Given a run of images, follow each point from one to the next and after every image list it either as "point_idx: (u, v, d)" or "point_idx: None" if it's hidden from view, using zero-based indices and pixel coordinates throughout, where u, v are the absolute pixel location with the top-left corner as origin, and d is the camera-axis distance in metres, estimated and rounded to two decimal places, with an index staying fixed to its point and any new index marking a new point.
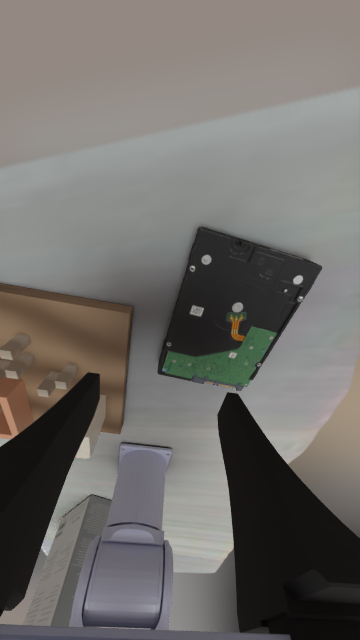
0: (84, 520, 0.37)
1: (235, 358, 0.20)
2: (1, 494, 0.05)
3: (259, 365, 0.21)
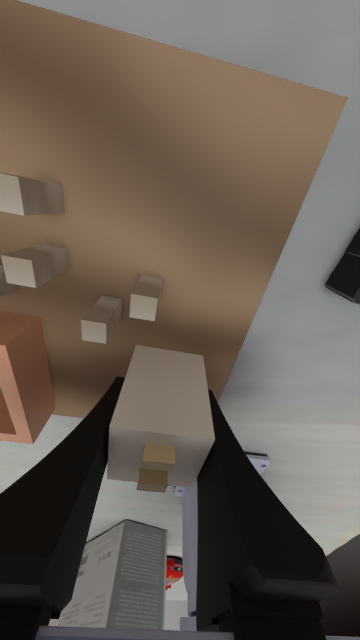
0: (120, 560, 0.25)
1: None
2: (63, 500, 0.05)
3: None
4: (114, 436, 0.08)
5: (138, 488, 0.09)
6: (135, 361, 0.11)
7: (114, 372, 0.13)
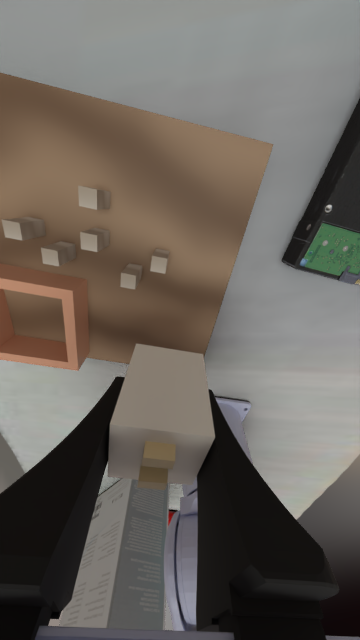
0: (131, 496, 0.31)
1: None
2: (63, 499, 0.05)
3: None
4: (115, 434, 0.08)
5: (138, 486, 0.09)
6: (135, 359, 0.11)
7: (134, 321, 0.18)
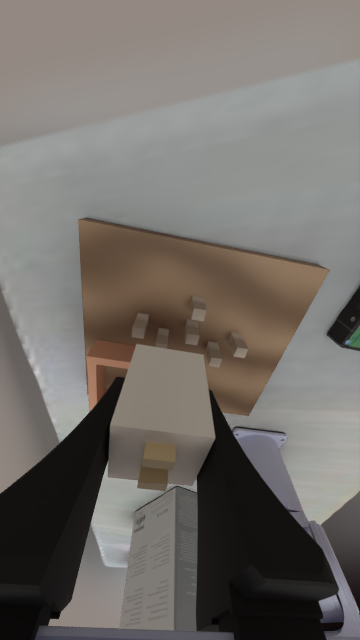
0: (177, 512, 0.35)
1: None
2: (63, 499, 0.05)
3: None
4: (115, 434, 0.08)
5: (139, 486, 0.09)
6: (136, 360, 0.11)
7: None
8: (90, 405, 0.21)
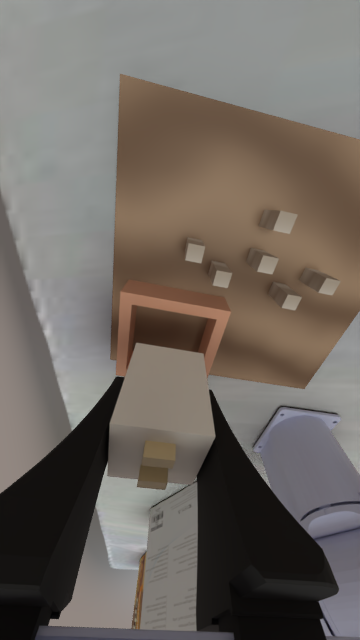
0: None
1: None
2: (63, 499, 0.05)
3: None
4: (114, 433, 0.08)
5: (138, 485, 0.09)
6: (135, 359, 0.11)
7: (257, 338, 0.18)
8: (117, 367, 0.17)
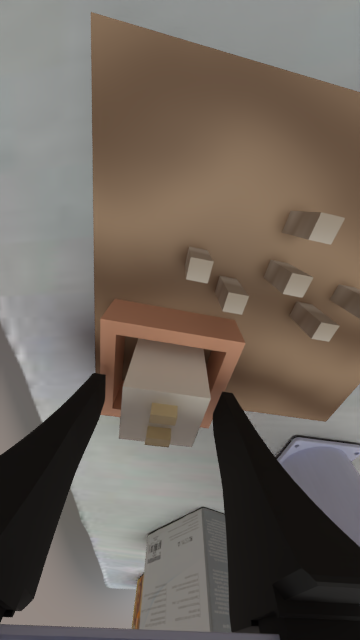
0: (206, 543, 0.27)
1: None
2: (14, 495, 0.05)
3: None
4: (126, 395, 0.09)
5: (146, 443, 0.10)
6: (142, 339, 0.12)
7: (273, 367, 0.15)
8: None
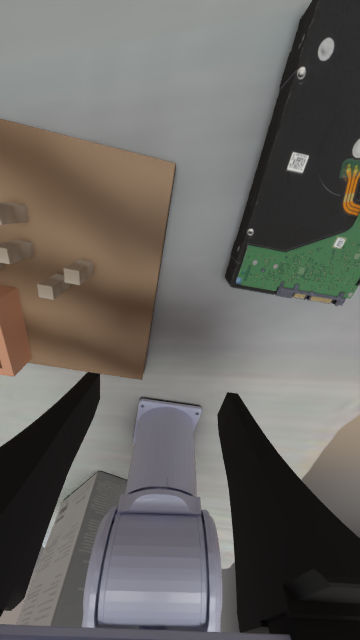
0: (91, 498, 0.31)
1: (341, 247, 0.15)
2: (1, 494, 0.05)
3: None
4: None
5: None
6: None
7: (70, 329, 0.19)
8: None
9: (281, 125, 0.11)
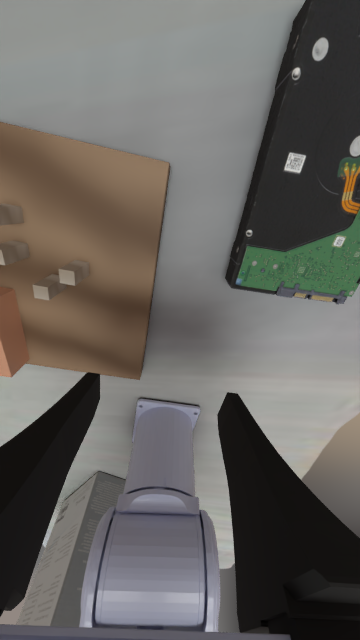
0: (91, 499, 0.31)
1: (341, 246, 0.15)
2: (1, 494, 0.05)
3: None
4: None
5: None
6: None
7: (67, 329, 0.19)
8: None
9: (277, 126, 0.11)
